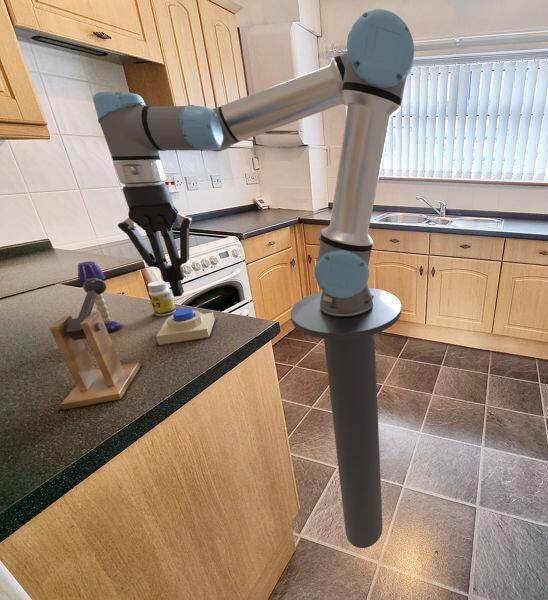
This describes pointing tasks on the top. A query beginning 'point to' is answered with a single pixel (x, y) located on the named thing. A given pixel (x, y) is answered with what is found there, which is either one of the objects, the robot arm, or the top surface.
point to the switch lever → (85, 307)
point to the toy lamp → (93, 271)
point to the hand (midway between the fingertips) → (178, 294)
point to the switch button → (183, 314)
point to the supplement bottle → (161, 298)
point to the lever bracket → (89, 380)
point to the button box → (186, 328)
